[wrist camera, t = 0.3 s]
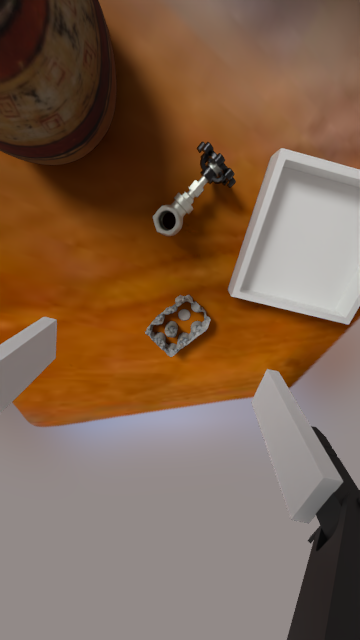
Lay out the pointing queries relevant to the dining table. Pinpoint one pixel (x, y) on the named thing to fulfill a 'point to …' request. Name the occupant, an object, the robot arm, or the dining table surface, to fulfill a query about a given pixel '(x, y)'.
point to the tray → (303, 239)
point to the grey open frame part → (172, 326)
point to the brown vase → (54, 79)
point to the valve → (195, 189)
